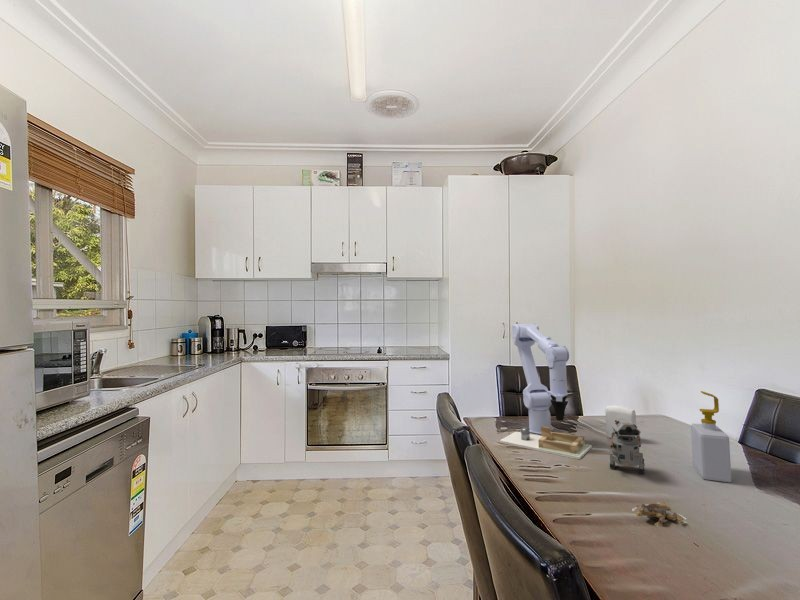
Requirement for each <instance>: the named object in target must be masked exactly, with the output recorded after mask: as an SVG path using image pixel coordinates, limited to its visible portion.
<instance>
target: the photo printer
mask: <svg viewBox="0 0 800 600" xmlns="http://www.w3.org/2000/svg"><path fill="white" fill-rule="evenodd" d="M615 419H626V420H627V421H628V422H630V423H631V424H632V425H633V424H634V425H636V426H637V414H636V411H635V409H633V408H631V407H629V406H626V405H622V404H621V405H620V404H612V405H611V404H610V405H607V406H606V408H605V424H606V425H605V427H606V437H607V438H610V439H612V433H613V432H614V433H615V431H614V430H613V428H612V426H613V421H614V420H615ZM615 435H616V434H615ZM635 437H636V438H637V436H635Z"/></svg>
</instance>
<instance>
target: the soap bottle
mask: <svg viewBox="0 0 800 600" xmlns="http://www.w3.org/2000/svg"><path fill="white" fill-rule="evenodd" d="M700 393H701V394H703V395H704V396H705V395H706V396H709V397H713V402H714V403H713V404H714V407H713V409H710V408H709V409H707V408H699V409H698V410H699V411H700V412H701V415H702V416H703V415H704V418H701V419H700V422H701V423H691V425H690V430H691V431H690V433H691V454H692V464H693V466H694V467H695V469H696V471H697V472H698V473H699V475H700V477H701V478H702V479H703V480H707V481H708V480H709V481H716V482H724V483H732V468H731V467H732V466H731V465H732V464H731V463H732V462H731V447H730V444H731V443H730V437H729V436H728V434H727V433H726V432H725V431H723V430H722V429H721V428H720V427H719V426H718V425H716V423H717V421H716V420H715V419H713V416H715V414H718V413H719V411H720V404H719V399H718V397H717V396H716V395H714V394H711V393H708V392H705V391H702V390H701V391H700Z"/></svg>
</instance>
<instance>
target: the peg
mask: <svg viewBox="0 0 800 600" xmlns="http://www.w3.org/2000/svg"><path fill="white" fill-rule="evenodd" d="M520 432H521V439H522V440H525V441H528V440H530V434H531V432H530V430H529V427H526V426H522V427H520Z"/></svg>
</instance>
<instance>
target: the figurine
mask: <svg viewBox="0 0 800 600" xmlns="http://www.w3.org/2000/svg"><path fill="white" fill-rule="evenodd" d="M612 428H613V430H614V431H615V433H614V432H613V433H612V438H610V443H609V446H610V448H609V469H610V470H611V469H612V470H614V469H615V466H616V464H617V465H619V466H620V465H621V466H627V467H637V466H638V467H639V468H638V469H639V470H638V471H639V474H640V475H645V467H646V465H645V464H646V463H645V459H644V453H643V452H640V448H642V443H641V436H640V435H641V431H640V430H639V429H638V426H637V424H636V425H634V424H633V425H632V424H631V423H630V422H628V421H627V420H626V419H615V420H614V421H613V426H612ZM615 434H616V435H615ZM635 436H637V438H636V437H635Z"/></svg>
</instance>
